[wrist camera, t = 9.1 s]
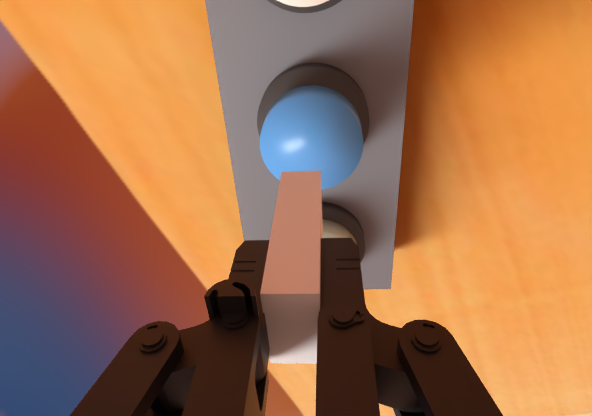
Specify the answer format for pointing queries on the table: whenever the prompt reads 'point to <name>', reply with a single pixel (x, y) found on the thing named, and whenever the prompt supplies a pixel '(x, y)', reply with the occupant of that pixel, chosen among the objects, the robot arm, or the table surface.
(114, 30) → the table surface
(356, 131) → the blue button
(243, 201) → the button panel
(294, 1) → the ivory button
